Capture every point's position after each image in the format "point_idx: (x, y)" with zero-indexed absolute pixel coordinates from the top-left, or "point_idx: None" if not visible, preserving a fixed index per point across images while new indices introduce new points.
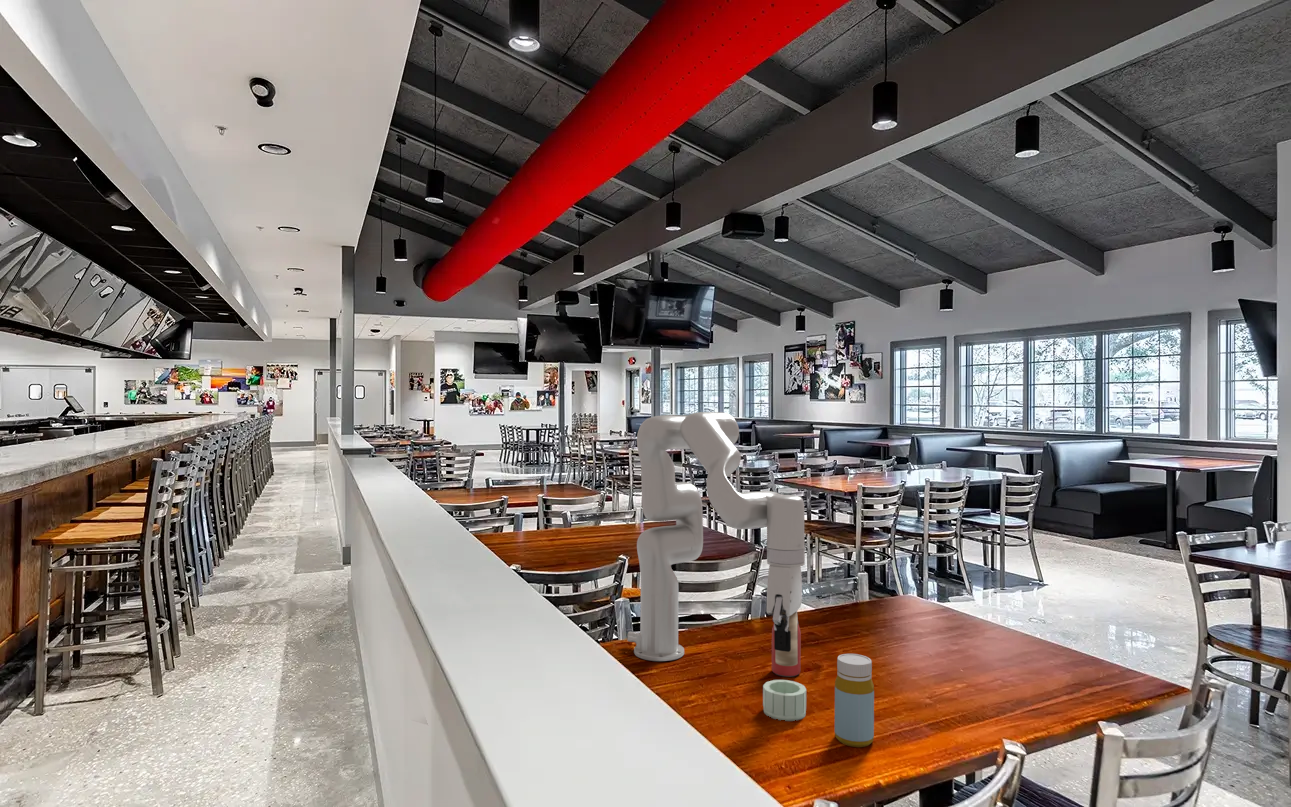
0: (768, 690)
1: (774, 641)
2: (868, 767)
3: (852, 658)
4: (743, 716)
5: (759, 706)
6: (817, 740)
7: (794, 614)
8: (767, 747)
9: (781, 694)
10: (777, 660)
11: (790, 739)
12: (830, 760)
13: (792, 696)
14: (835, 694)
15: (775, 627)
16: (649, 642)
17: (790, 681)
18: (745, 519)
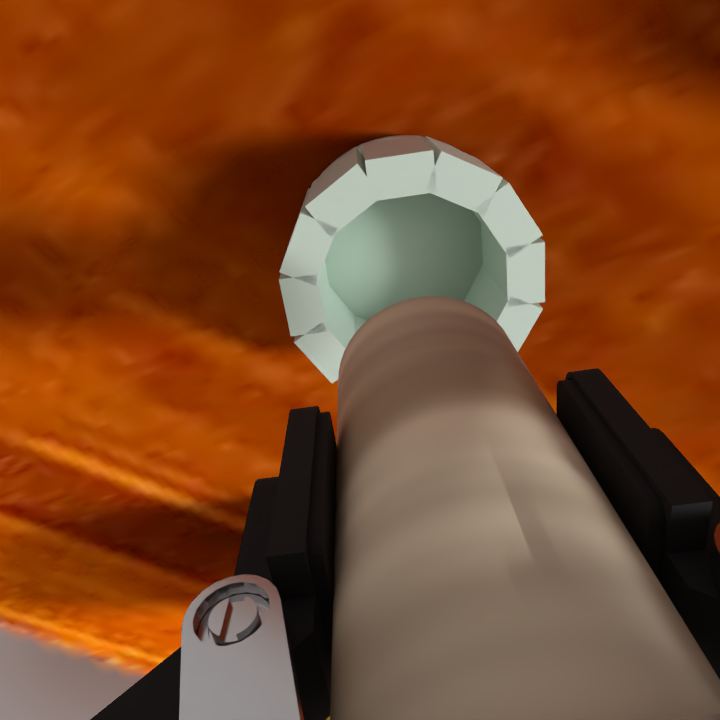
0: (306, 229)
1: (283, 452)
2: (160, 623)
3: None
4: (217, 85)
5: (398, 97)
6: (224, 460)
7: None
8: (17, 339)
9: (296, 321)
10: (351, 352)
11: (155, 381)
12: (114, 538)
13: (322, 372)
14: None
15: (192, 642)
16: None
17: (531, 279)
18: None
